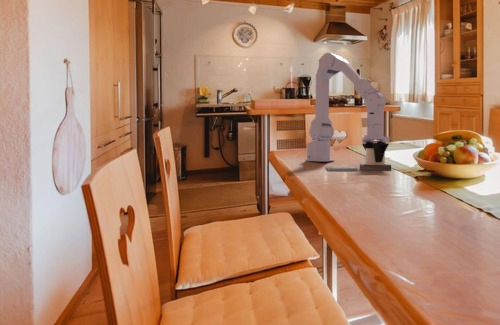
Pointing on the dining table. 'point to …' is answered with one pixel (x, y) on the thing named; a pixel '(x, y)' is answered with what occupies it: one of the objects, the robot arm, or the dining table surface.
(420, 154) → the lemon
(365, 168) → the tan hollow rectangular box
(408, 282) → the dining table surface
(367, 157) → the tan rectangular post
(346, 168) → the tile
